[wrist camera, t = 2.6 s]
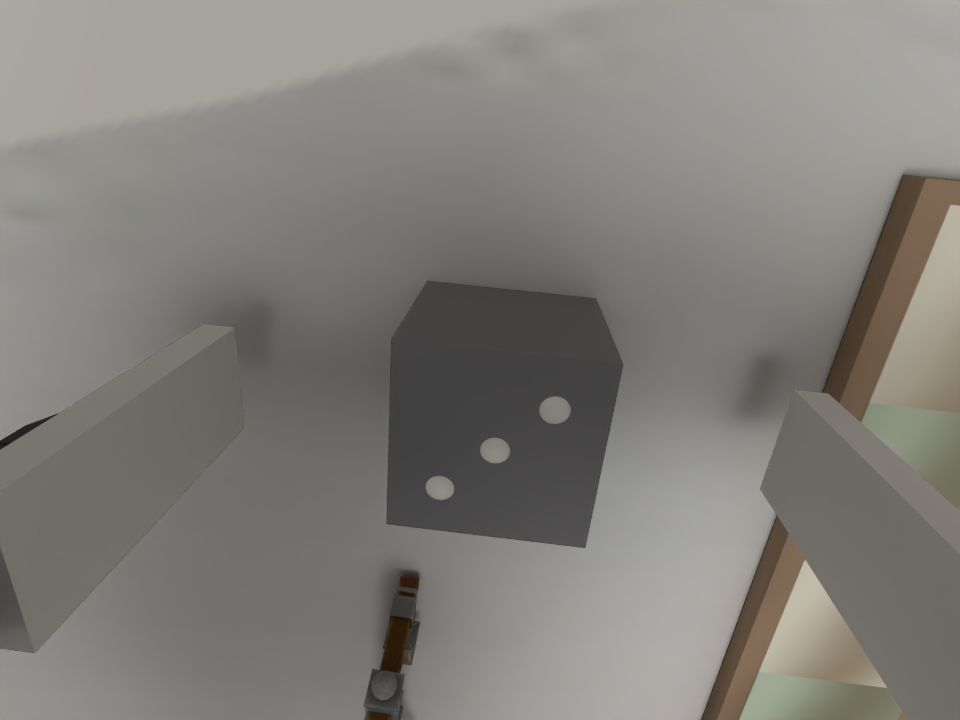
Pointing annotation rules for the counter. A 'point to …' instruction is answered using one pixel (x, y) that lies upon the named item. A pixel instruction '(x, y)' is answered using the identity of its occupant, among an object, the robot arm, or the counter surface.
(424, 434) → the die
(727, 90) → the counter surface
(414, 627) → the lantern lamp post
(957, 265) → the board
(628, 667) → the counter surface
